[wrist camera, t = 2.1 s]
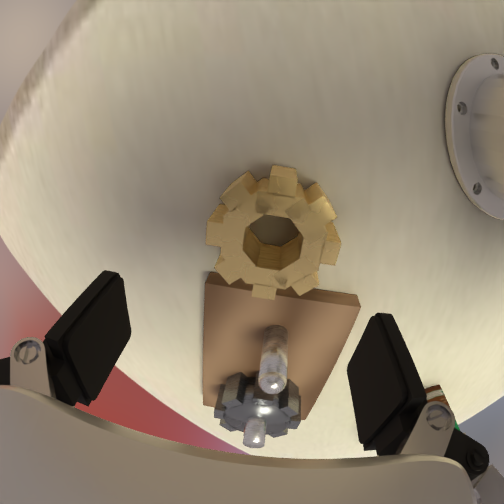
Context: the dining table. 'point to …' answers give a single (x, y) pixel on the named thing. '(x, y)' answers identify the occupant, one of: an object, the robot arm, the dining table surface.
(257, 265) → the wooden gear
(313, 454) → the dining table surface
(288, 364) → the gear board
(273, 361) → the peg
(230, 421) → the gear
